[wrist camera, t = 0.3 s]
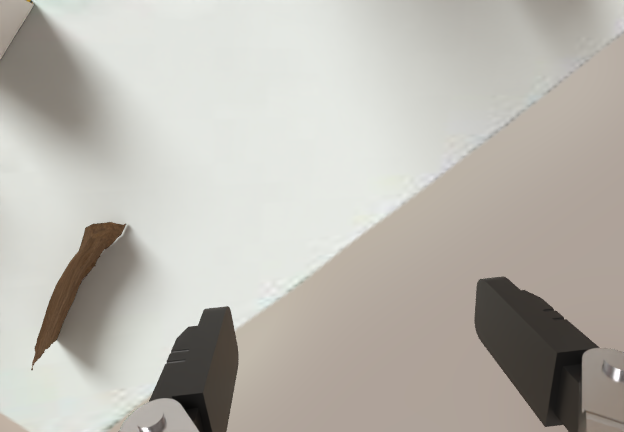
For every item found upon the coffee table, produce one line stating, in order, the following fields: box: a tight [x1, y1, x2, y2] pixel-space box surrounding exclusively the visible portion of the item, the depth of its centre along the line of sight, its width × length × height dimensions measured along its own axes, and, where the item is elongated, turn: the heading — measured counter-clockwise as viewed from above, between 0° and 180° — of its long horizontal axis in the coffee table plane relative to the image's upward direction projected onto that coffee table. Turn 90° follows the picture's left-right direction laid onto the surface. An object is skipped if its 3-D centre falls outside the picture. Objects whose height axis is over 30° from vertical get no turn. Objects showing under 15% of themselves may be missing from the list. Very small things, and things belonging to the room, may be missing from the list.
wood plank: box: [31, 222, 126, 370], centre depth 36 cm, size 15×2×5 cm, turn 151°
